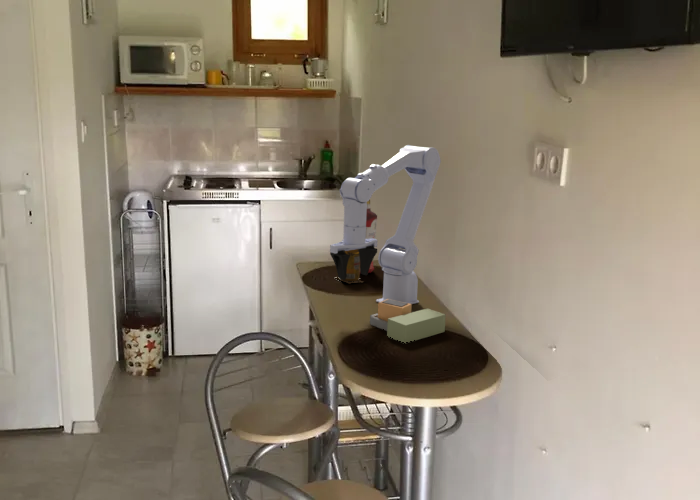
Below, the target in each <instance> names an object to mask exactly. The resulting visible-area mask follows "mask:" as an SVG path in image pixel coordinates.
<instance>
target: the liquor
mask: <svg viewBox="0 0 700 500" xmlns="http://www.w3.org/2000/svg"><path fill="white" fill-rule="evenodd" d="M371 209H372V208H371V199H370V200H369V201H367V213H366V239H371V238H373V239H376V237H377V235H376V234H377V223H378V214H376V213H375V212H374V211H373V210H371ZM374 258H375V257H374ZM374 258H373V260H372V263H371V265H370V268H369V272H368V273H370V274H371V273H372V272H373V271H375V267H374ZM360 275H362V274H361V273H360Z"/></svg>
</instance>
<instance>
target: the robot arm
mask: <svg viewBox="0 0 700 500" xmlns="http://www.w3.org/2000/svg"><path fill="white" fill-rule="evenodd" d="M441 162H442V161H441V157H440V153H439V150H438V149H437V148H436V147H433V146H430V147H426V146H418V145H417V146H416V145H411V144H407V145H404V146H403V147H401V148H400V149H399V151H398V153H396V154H395V155H394V156H392V157H391V158H390V159H389V160H387V161H386V162H384V163H383V164H382V165H380V164H374V163H372V164H371V165H369V167H368V168H367V169H365V170H364V171H363V172H359V173H357V175H356V176H355V177H347V178H346V179H345V180H344V181H343V182H342V183H341V186H340V188H339V194H340V197H341V198H342V205H343V207H344V208H343V233H342V235H343V238H342V240H341V241H338V242H337V243H333V244H330V246H329V252H330V253H329V255H330V256H331V258H332V260H333V263H334V266H335V268H336V272H337V277H338V278H339V279H342V280H345V279H346V273H347V264H348V260H349V257H350V255H348V254H346V253H345V251H349V250H355V249H358V251H359V256H360V273H361V274H360V275H363V276H368V275H369V274H368V272H369V268H370V265H371V263H372V260H373V258H375V257H376V255H377V254H378V257H377V262H378V264H379V266H380V267H381V271H383V282H382V284H383V286H382V287H383V288H382V298H377V299H376V300H375V302H377V303H379V302H382V301H384V300H386V299H391V300H395V301H400V302H405V303H409V304H412V305H413V304H414V305H415V304H418V303H420V301H419V300H418V287H419V286H418V283H419V280H418V276H417V273H416V272H415V271H414V270H415V269H416V268H417V267H416V266H417V263H418V254H419V251H420V250H419V247H418V246H417V245H416V243H415V242H414V240H415V238H416V235H417V232H418V229H419V226H420V224H421V221H422V219H423V218H422V217H423V216H424V213H425V209H426V206H427V203H428V200H429V198H430V195H431V192H432V190H433V186H434V184H435V183H434V182H435V179H436V176H437V174H438V171H439V169H440V165H441ZM403 170H405V172H406V174H407V175H408V177H410V178H411V180H412V185H411V187H410V192H409V194H408V197H407V199H406V202H405V204H404V208H403V210H402V213H401V217H400V218H399V219H400V220H399V221H398V222H399V223H398V226H397V228H396V231H395V234H394V235H393V236H391V237H389V238H387V239H386V240H385V243H384V245H383V247H382V248H381V249H380V250H379V253H378V248H377V247H378V239H376V238H375V239H373V238H371V239H366V213H367V201H369V200H370V201H371V198H372V196H373V194H374V193H375V192H376V191H377V190H379V189H381V188H383V186H385V185H387V184H388V182H389V179H390V177H391V176H394V175H395V174H396V173H399V172H401V171H403Z"/></svg>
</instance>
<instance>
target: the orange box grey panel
mask: <svg viewBox="0 0 700 500" xmlns="http://www.w3.org/2000/svg"><path fill="white" fill-rule="evenodd" d="M377 303H378V305H377V308H378V309H377V313H378V318H380V319H382V320H385V321H388V319H389V318H393V317H396V316H400V315H404V314H408V313H412V305H413V304H409V303H405V302H400V301H395V300H391V299H386V300H384V301H382V302H377Z"/></svg>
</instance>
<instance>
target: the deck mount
mask: <svg viewBox="0 0 700 500" xmlns="http://www.w3.org/2000/svg"><path fill="white" fill-rule="evenodd" d="M446 319H447V318H446V314H445V313H442V312H439V311H437V310H433V309H430V308H428V307H427V308H424V309H420V310H416V311H411V313H408V314H404V315H400V316H396V317H393V318H389V319H388V321H385V320H382V319H380V318H378V312H377V313H375V314H373V313H372V314H370V315H369V325H370V326H374V327H376V328H378V329H381V330H383V329H384V330H383V331H386V337H387V336H388V337H387V338H390V337H391V338H390V339H392V338H393V339H392V340H395V341H397V340H398V342H399V341H401V342H400V343H402V342H404V343H405V344H407V343H406V342H408V343H411V342H410V341H412V342H415V341H418V340H421V339H425V338H428V337H431V336H435V335H438V334H441V333H445V330H446ZM414 340H415V341H414ZM404 343H403V344H404Z"/></svg>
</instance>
